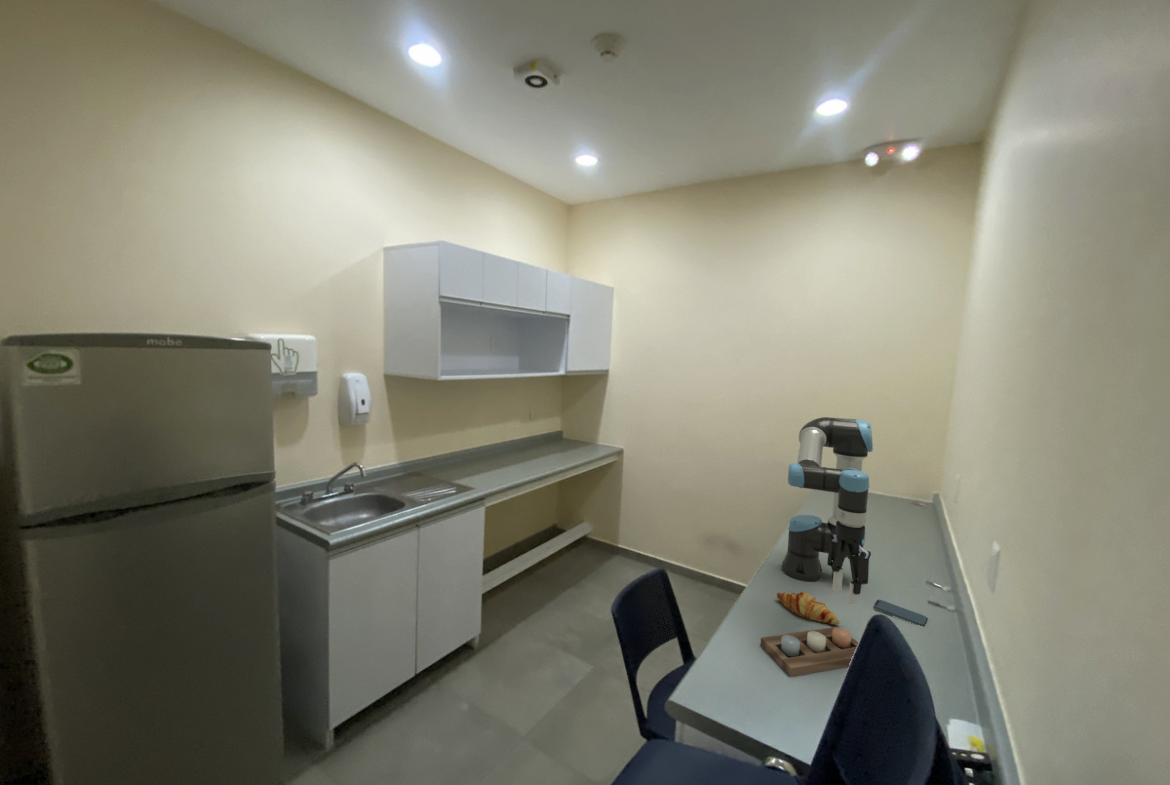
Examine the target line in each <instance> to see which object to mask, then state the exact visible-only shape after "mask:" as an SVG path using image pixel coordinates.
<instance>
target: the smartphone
mask: <svg viewBox="0 0 1170 785" xmlns="http://www.w3.org/2000/svg"><path fill="white" fill-rule="evenodd" d="M872 608H873V610H874V611H876V612H879V613H881V614H885V615H887V616H890V617H893V616H895V617H897V618H896V619H898V618H899V619H898V620H900V619H902V620H901V621H903V620H905V621H904V622H906V621H908V622H907V623H909V622H911V623H910V624H912V623H913V624H912V625H915V624H916V625H915V626H917V625H920V626H925V627H926V625H927V623H928V621H929V620H928V617H927V616H925V615H923V614H921V613H918V612H915V611H912V610H911V609H907V608H904V607H901V606H899V605H896V604H894V603H891V602H887V601H885V600H882V599H877V600H876V601H875V603H874V604H873V607H872ZM895 617H893V618H895ZM927 620H928V621H927ZM926 622H927V623H926ZM925 624H926V625H925ZM920 626H919V627H920Z"/></svg>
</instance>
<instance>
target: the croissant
mask: <svg viewBox="0 0 1170 785" xmlns="http://www.w3.org/2000/svg"><path fill="white" fill-rule="evenodd" d="M776 598H777V599H778V600H779V601H780V602H781V603H782V605H784V607H785V608H786V609H788V610H789V611H791V612H792V613H793V614H796V615H797V616H800V617H801V618H804V619H807V620H811V621H817V622H818V623H823V624H824V623H827V624H829V625H834V626H837V625H840V622H841V621H840V620H839V618H838V617H837V615H836V614H835V613H834V612H833V611H830V609H829V607H828V606H827V605H826V604H825V603H823V602H819V601H817V599H816V598H815V597H814V596H813V595H812V594H809V593H807V592H804V591H800V592H799V593H797V592H791V593H787V592H782V593H781V592H777V593H776Z"/></svg>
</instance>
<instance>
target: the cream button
mask: <svg viewBox="0 0 1170 785" xmlns="http://www.w3.org/2000/svg"><path fill="white" fill-rule="evenodd" d="M825 646H826V637H825V636H824V635H823V634H821V633H819V632H815V631H810V632H808V634H807V647H808V648H809V649H810V650H811V651H812V652H813V653H821V652H825Z"/></svg>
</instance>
